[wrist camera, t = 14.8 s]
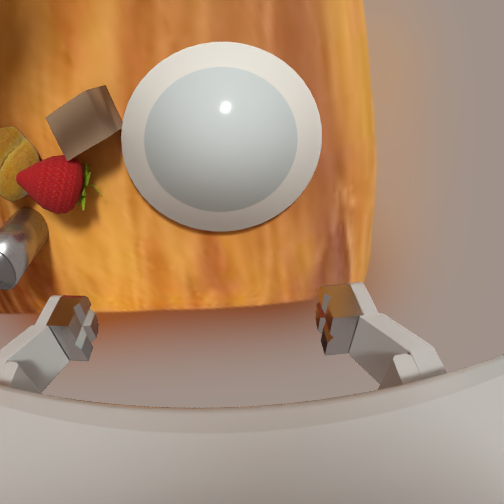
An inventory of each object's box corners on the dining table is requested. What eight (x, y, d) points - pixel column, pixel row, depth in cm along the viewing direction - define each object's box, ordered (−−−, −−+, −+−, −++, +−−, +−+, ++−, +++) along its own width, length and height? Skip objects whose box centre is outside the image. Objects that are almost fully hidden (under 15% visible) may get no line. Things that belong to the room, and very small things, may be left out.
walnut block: (68, 108, 27) (45, 117, 23) (105, 85, 26) (85, 90, 22) (87, 146, 30) (67, 161, 26) (125, 125, 29) (108, 137, 25)
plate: (115, 57, 25) (110, 57, 24) (320, 43, 25) (324, 42, 24) (141, 231, 36) (138, 237, 35) (313, 221, 36) (316, 228, 35)
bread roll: (7, 112, 25) (-12, 121, 22) (53, 159, 30) (37, 172, 26) (-20, 162, 28) (-38, 174, 24) (22, 205, 32) (7, 221, 29)
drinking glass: (7, 211, 32) (-30, 250, 25) (39, 203, 32) (1, 244, 25) (22, 249, 36) (-9, 292, 28) (54, 244, 36) (24, 289, 28)
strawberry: (11, 217, 27) (92, 225, 33) (10, 193, 21) (109, 204, 28) (20, 168, 28) (96, 178, 35) (23, 135, 23) (114, 150, 29)
